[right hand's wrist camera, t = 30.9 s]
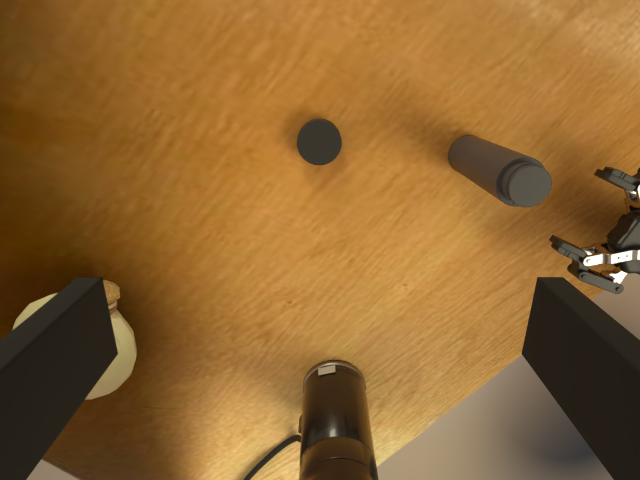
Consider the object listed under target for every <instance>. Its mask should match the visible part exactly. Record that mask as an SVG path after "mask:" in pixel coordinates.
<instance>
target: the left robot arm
mask: <svg viewBox="0 0 640 480" xmlns="http://www.w3.org/2000/svg"><path fill="white" fill-rule="evenodd" d="M594 175H596V176H598V177H600V178H602V179H604V180H606V181H608V182H610V183H612V184H614V185H616V186H618V187H620V188H623V189H624V191H625V195H626V198H625V204H626V207H627V211H628V213H627V214H626V215H624V214H623V215H622V216H621V218H620V219H619V221H618V223H617V225H616V227H615V228H613V229H612V230H611V231H610V232H609V234H608V235H607V236H606V237H607V238H608V240H607V241H603V242H598V243H593V244H591V246H589V247H584V248H579V247H577V246H576V245H573V244H571V243H569V242H567V241H565V240H563V239H560V238H558V237H556V236H554V235H552V236H551V238H550V239H549V240H550V241H551V242H553V243H552V245H551V246H552V248H553V249H554V250H556V251H557V252H559V253H560V254H562V255H564V256H567V257H569V258H571V259H572V264H570V265H569V266H568V268H567V270H568V271H569V272H570V273H571V274H573V275H574V276H575V277H577V278H578V279H579V280H580V281H583V282H586V283H588V284H591V285H594V286H596V287H599V288H602V289H604V290H607V291H610V292H613V293H615V294H619V293H621V292H622V291H623V286H622V285H621V284H620V283H621V282H622V280H623V279H624V277H625V276H626V275H627V273H637V274H640V168H639V169H638V173H637V174H636V175H634V176H630V175H628V174H626V173H624V172H622V171H620V170H617V169H614V168H611V167H605V168H604V170H600V169H597V171H596V172H595V174H594ZM602 263H605V264H614V265H615V267H616V268H615V269H614V270H612V271H609V270H606V271H604V270H602V271H601V272H600V273H599V272H596V271H593V270H591V269H589V266H592V265H597V264H602ZM365 391H366V387H365V381H364V377H363V375H362V374H361V372H360V371H359V370H358V369H357V368H356V367H355V366H353V365H351V364H349V363H347V362H344V361H337V360H332V361H325V362H322V363H320V364H317V365H316V366H314V367H313V368H312V369H311V370H310V371H309V372H308V373H307V375H306V376H305V379H304V383H303V412H302V415H301V417H300V419H299V433H301V436H300V435H294V436H292V437H290V438H288V439H287V440H285V441H284V442H283V443H281V444H280V445H278V446H277V447H276V448H275V449H274V450H272V451H271V452H270V453H269V454H268V455H267V456H266V457H265V458H264V459H262V460H261V461H260V462H259V463H258V464H257V465H256V466H255V467H254V468H253V469H252V470H251V471H250V473H249V474H248V475H247V476H246V477H245V478H244V480H250V479H251V478H252V477H253V476H254V474H255V473H256V472H257V471H258V470H259V469H260V468H262V467H263V466H264V465H265V464H266V463H267V462H268V461H269V460H270V459H271V458H273V457H274V456H275V455H276V454H277V453H278V452H280V451H281V450H282V449H283V448H285V447H286V446H288V445H289V444H291V443H293V442H295V441H298V442H301V450H300V471H299V480H378V474H377V467H376V460H375V454H374V447H373V440H372V434H371V427H370V420H369V413H368V406H367V399H366V392H365Z"/></svg>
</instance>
